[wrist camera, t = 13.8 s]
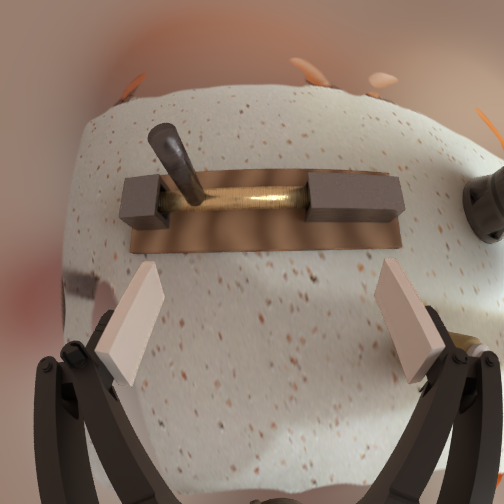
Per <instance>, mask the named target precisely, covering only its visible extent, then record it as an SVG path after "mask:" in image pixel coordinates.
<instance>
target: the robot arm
mask: <svg viewBox="0 0 504 504" xmlns="http://www.w3.org/2000/svg"><path fill="white" fill-rule="evenodd" d="M463 205H464V210H465V213H466V216H467V219H468V221H469V223H470V225H471V227H472V229H473V231H474V232H475V233H476V235H477V236H478V237H479V238H480V239H481V240H483V241H484V242H486V243H490V244H492V243H495V242H498V241H500V240H502V239H503V238H504V166H503V167H502V168H501V169H499V170H498V171H497V172H495V173H494V174H492V175H487V176H482V177H476V178H474V179H472V180H471V181H470V182H469V183H467V184H466V186H465V188H464V192H463ZM374 296H375V299H376V301H377V303H378V306H379V308H380V310H381V313H382V315H383V318H384V320H385V322H386V325H387V327H388V330H389V332H390V335H391V338H392V340H393V343H394V345H395V348H396V351H397V353H398V356H399V359H400V362H401V365H402V367H403V370H404V373H405V376H406V379H407V382H408V384H412V383H416V382H420V381H421V380H422V379H423V378H424V376H425V375H426V376H427V379H428V381H427V382H426V383H425V385H424V386H423V387H422V388H421V390H420V391H419V392H422V394H421V396H420V398H419V401H418V403H417V405H416V408H415V410H414V412H413V414H412V416H411V418H410V420H409V423H408V425H407V427H406V429H405V431H404V432H403V434H402V436H401V438H400V440H399V442H398V444H397V446H396V447H395V449H394V451H393V453H392V454H391V456H390V458H389V459H388V461H387V463H386V464H385V466H384V468H383V469H382V471H381V472H380V474H379V475H378V477H377V479H376V480H375V481H374V483H373V484H372V486H371V488H370V489H369V490H368V492H367V493H366V494H365V496H364V497H363V498H362V499H361V500H360V501H358V502H357V503H356V504H420V503H419V498H420V496H421V494H422V492H423V491H424V488H425V487H426V485H427V483H428V481H429V479H430V477H431V475H432V473H433V471H434V469H435V467H436V465H437V463H438V460H439V458H440V456H441V453H442V451H443V449H444V446H445V444H446V441H447V439H448V436H449V433H450V431H451V428H452V425H453V431H452V438H451V444H450V450H449V456H448V461H447V466H446V470H445V475H444V479H443V483H442V486H441V490H440V494H439V497H438V500H437V504H492V502H493V498H494V494H495V489H496V484H497V478H498V472H499V464H500V456H501V445H502V427H503V402H502V383H501V371H500V362H499V359H498V357H497V355H496V354H495V353H493V352H492V351H484V352H483V353H482V354H481V356H480V357H473V356H468V354H467V353H466V352H465V351H464V350H463V349H461V348H457V347H455V345H454V343H453V341H452V339H451V337H450V335H449V333H448V331H447V329H446V327H445V326H444V324H443V322H442V321H441V318H440V317H439V315H438V313H437V312H436V311H435V310H434V309H433V308H432V307H431V306H424V305H423V303H422V301H421V299H420V298H419V296H418V294H417V292H416V291H415V289H414V287H413V286H412V284H411V282H410V281H409V279H408V277H407V276H406V274H405V273H404V271H403V269H402V268H401V266H400V265H399V263H398V262H397V260H396V259H384V262H383V266H382V270H381V273H380V277H379V280H378V284H377V287H376V291H375V294H374ZM164 299H165V296H164V293H163V290H162V286H161V283H160V279H159V276H158V272H157V269H156V265H155V262H142V264H141V265H140V267H139V269H138V270H137V272H136V274H135V276H134V277H133V279H132V281H131V282H130V284H129V286H128V288H127V289H126V291H125V293H124V295H123V297H122V298H121V300H120V302H119V304H118V306H117V307H116V309H115V310H108V311H107V312H106V313H105V314H104V315H103V316H102V317H101V319H100V321H99V323H98V325H97V326H96V328H95V331H94V332H93V334H92V336H91V338H90V340H89V341H88V343H87V345H86V347H84V345H83V344H82V343H81V342H79V341H71V342H69V343H67V344H66V345H65V346H64V347H63V348H62V350H61V353H60V357H61V358H62V360H63V361H64V362H59V363H58V362H57V361H56V359H55V358H54V357H51V356H47V357H45V358H43V359H42V360H40V362H39V363H38V366H37V371H36V381H35V395H34V396H35V397H34V450H35V461H36V462H35V463H36V472H37V480H38V487H39V493H40V498H41V503H42V504H99V501H98V498H97V494H96V490H95V485H94V481H93V477H92V472H91V467H90V462H89V456H88V450H87V443H86V436H85V428H84V421H85V424H86V427H87V430H88V432H89V435H90V438H91V440H92V443H93V445H94V447H95V450H96V452H97V455H98V457H99V459H100V461H101V463H102V466H103V468H104V470H105V472H106V474H107V476H108V478H109V480H110V482H111V484H112V486H113V488H114V490H115V491H116V493H117V495H118V497H119V498H120V500H121V502H122V504H182V503H181V502H179V501H178V500H177V499H176V497H175V496H174V494H173V493H172V491H171V490H170V489H169V487H168V486H167V484H166V483H165V481H164V480H163V478H162V477H161V476H160V474H159V472H158V471H157V470H156V468H155V466H154V465H153V463H152V461H151V460H150V458H149V456H148V454H147V453H146V451H145V449H144V448H143V446H142V444H141V442H140V441H139V439H138V437H137V435H136V433H135V431H134V429H133V427H132V425H131V423H130V421H129V420H128V417H127V415H126V414H125V411H124V409H123V407H122V405H121V403H120V400H119V398H118V396H117V394H116V391H115V389H114V387H113V386H112V382H113V380H114V379H115V381H116V382H117V383H118V385H122V386H127V387H132V386H133V383H134V380H135V377H136V374H137V371H138V368H139V365H140V362H141V359H142V357H143V354H144V351H145V348H146V346H147V343H148V340H149V337H150V335H151V332H152V329H153V327H154V324H155V322H156V319H157V316H158V314H159V311H160V309H161V306H162V304H163V301H164ZM453 422H454V423H453Z"/></svg>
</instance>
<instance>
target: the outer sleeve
mask: <svg viewBox="0 0 504 504" xmlns="http://www.w3.org/2000/svg"><path fill="white" fill-rule="evenodd" d="M304 186H309V196H310V206H309V209H304V215H305V222H367V223H389V222H391V221H392V220H393V219H395V218H396V217H397V216H398V215H400V214H401V213H402V212H403V211H405V205H404V200H403V195H402V191H401V186H400V182H399V178H398V177H392V176H380V175H365V174H347V173H319V172H308V174H307V177H306V181H305V184H304Z"/></svg>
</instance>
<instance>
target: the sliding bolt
mask: <svg viewBox="0 0 504 504" xmlns="http://www.w3.org/2000/svg"><path fill="white" fill-rule="evenodd" d="M148 142H149V144H150V145H151V147H152V148H153V150H154V152H155V153H156V155H157V156H158V158H159V160H160V161H161V163H162V164H163V166H164V167H165V169H166V171H167V172H168V174H169V175H170V177H171V178H172V180H173V181H174V183H175V185H176V186H177V188H178V189H179V191H166V192H159V200H158V209H157V211H158V212H159V213H160V214H161V213H177V212H196V211H219V210H250V209H309V206H310V196H309V186H263V187H230V188H209V189H203V187H202V185H201V183H200V181H199V179H198V177H197V174H196V172H195V170H194V168H193V166H192V163H191V161H190V159H189V157H188V155H187V152H186V150H185V148H184V146H183V144H182V141H181V139H180V137H179V135H178V133H177V130H176V128H175V126H174V125H173V124H170V123H162V124H159V125H157V126H155V127H154V128H153V129H152V130H151V131H150V133H149V135H148Z"/></svg>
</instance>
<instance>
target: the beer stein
mask: <svg viewBox="0 0 504 504" xmlns="http://www.w3.org/2000/svg"><path fill="white" fill-rule="evenodd" d="M250 504H301V503H300V502H298V501H296V500H293V499H287V498H276V499H270V500H267V501H264V502H262V503H260V501H259V500H254V501H251V502H250Z"/></svg>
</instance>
